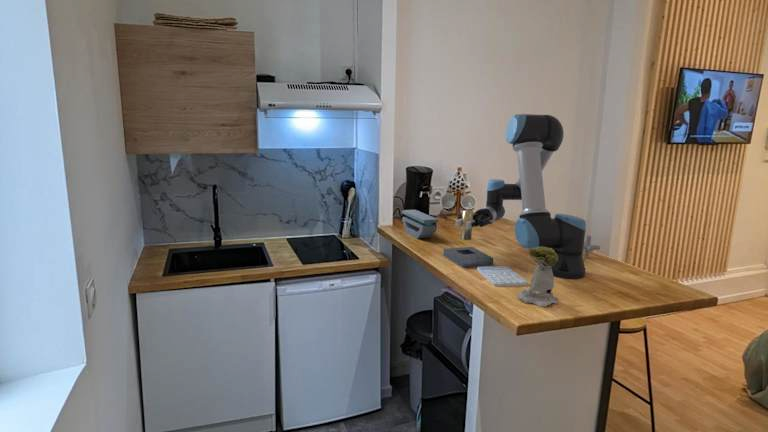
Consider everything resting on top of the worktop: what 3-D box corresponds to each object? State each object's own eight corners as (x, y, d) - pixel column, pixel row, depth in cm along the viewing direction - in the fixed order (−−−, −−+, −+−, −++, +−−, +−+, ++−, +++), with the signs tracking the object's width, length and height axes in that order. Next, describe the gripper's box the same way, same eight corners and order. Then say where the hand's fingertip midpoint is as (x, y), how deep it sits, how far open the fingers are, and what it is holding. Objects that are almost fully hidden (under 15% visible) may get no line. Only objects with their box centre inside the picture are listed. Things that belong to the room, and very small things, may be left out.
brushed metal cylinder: (473, 239, 205) (475, 212, 203) (464, 240, 204) (465, 212, 201) (468, 237, 209) (470, 209, 207) (459, 237, 208) (460, 210, 205)
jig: (493, 265, 200) (493, 258, 200) (462, 267, 196) (463, 260, 195) (471, 253, 217) (472, 246, 216) (443, 255, 212) (443, 248, 212)
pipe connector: (594, 255, 219) (596, 234, 217) (601, 261, 209) (604, 239, 207) (571, 254, 220) (574, 232, 218) (578, 260, 210) (580, 238, 208)
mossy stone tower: (522, 290, 172) (527, 240, 168) (560, 298, 166) (566, 246, 162) (514, 301, 162) (519, 248, 158) (554, 309, 155) (560, 254, 152)
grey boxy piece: (401, 230, 256) (401, 210, 254) (414, 229, 259) (415, 209, 257) (423, 242, 233) (424, 220, 231) (437, 240, 236) (438, 219, 234)
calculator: (493, 287, 175) (494, 282, 175) (475, 270, 194) (476, 265, 194) (528, 287, 177) (529, 282, 177) (507, 269, 196) (507, 265, 196)
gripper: (502, 227, 215) (480, 237, 197) (467, 221, 225) (442, 230, 207) (503, 210, 214) (481, 219, 195) (468, 205, 224) (443, 213, 205)
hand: (461, 224), depth 201 cm, fingers closed on brushed metal cylinder, 4 cm apart
